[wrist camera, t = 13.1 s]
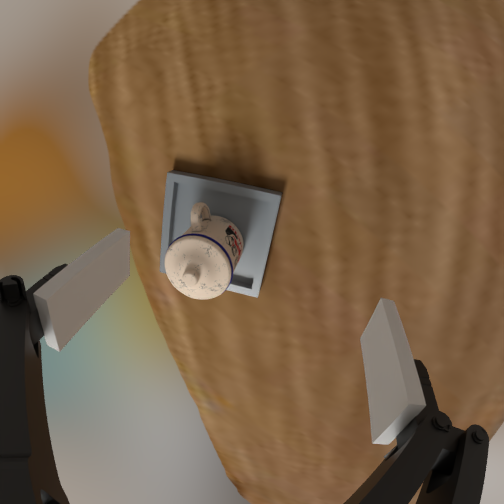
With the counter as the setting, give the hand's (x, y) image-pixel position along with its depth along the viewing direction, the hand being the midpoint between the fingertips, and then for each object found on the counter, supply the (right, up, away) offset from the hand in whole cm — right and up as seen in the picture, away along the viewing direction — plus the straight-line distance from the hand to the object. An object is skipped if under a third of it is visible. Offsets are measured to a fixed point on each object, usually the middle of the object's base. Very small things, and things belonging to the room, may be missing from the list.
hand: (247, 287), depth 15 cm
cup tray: (-5, +5, +31) cm, 32 cm away
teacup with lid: (-5, +5, +31) cm, 32 cm away
